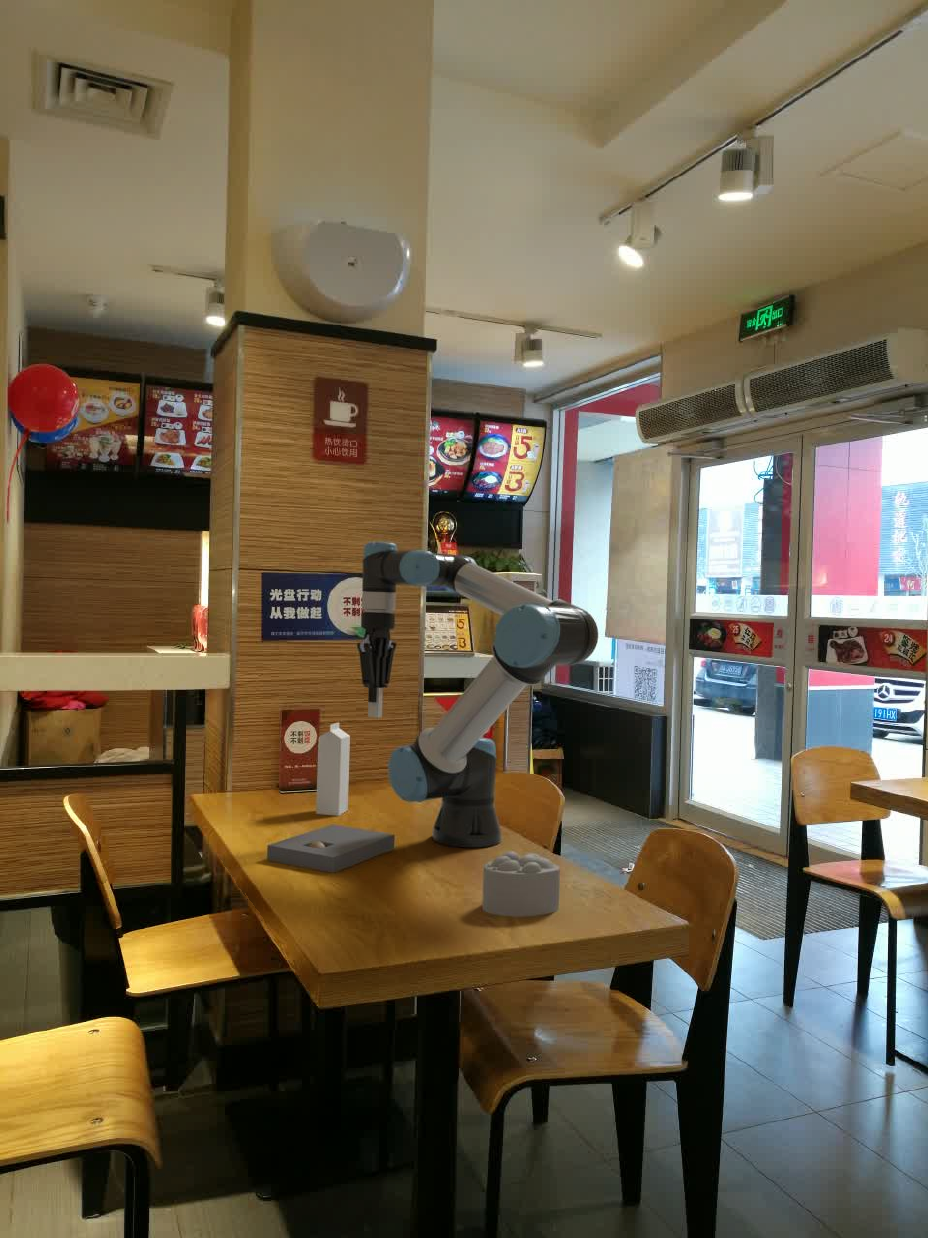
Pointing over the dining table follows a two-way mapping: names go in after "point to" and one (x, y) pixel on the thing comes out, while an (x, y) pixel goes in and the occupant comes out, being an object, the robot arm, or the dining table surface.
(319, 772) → the milk
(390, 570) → the robot arm
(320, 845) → the wooden ball
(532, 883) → the lumpy-topped squat cylinder
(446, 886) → the dining table surface
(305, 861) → the pocket board
